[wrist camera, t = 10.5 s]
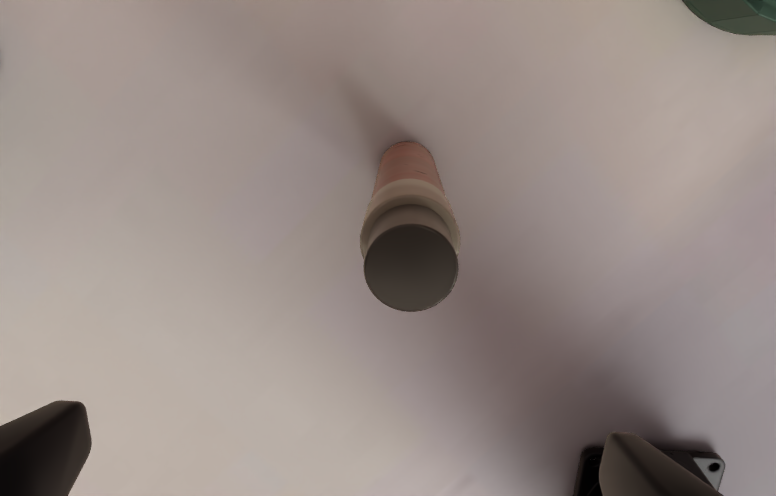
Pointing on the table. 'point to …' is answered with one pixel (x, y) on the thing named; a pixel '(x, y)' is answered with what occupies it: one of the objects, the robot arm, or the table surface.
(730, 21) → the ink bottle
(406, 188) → the capped glue stick
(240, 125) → the table surface
